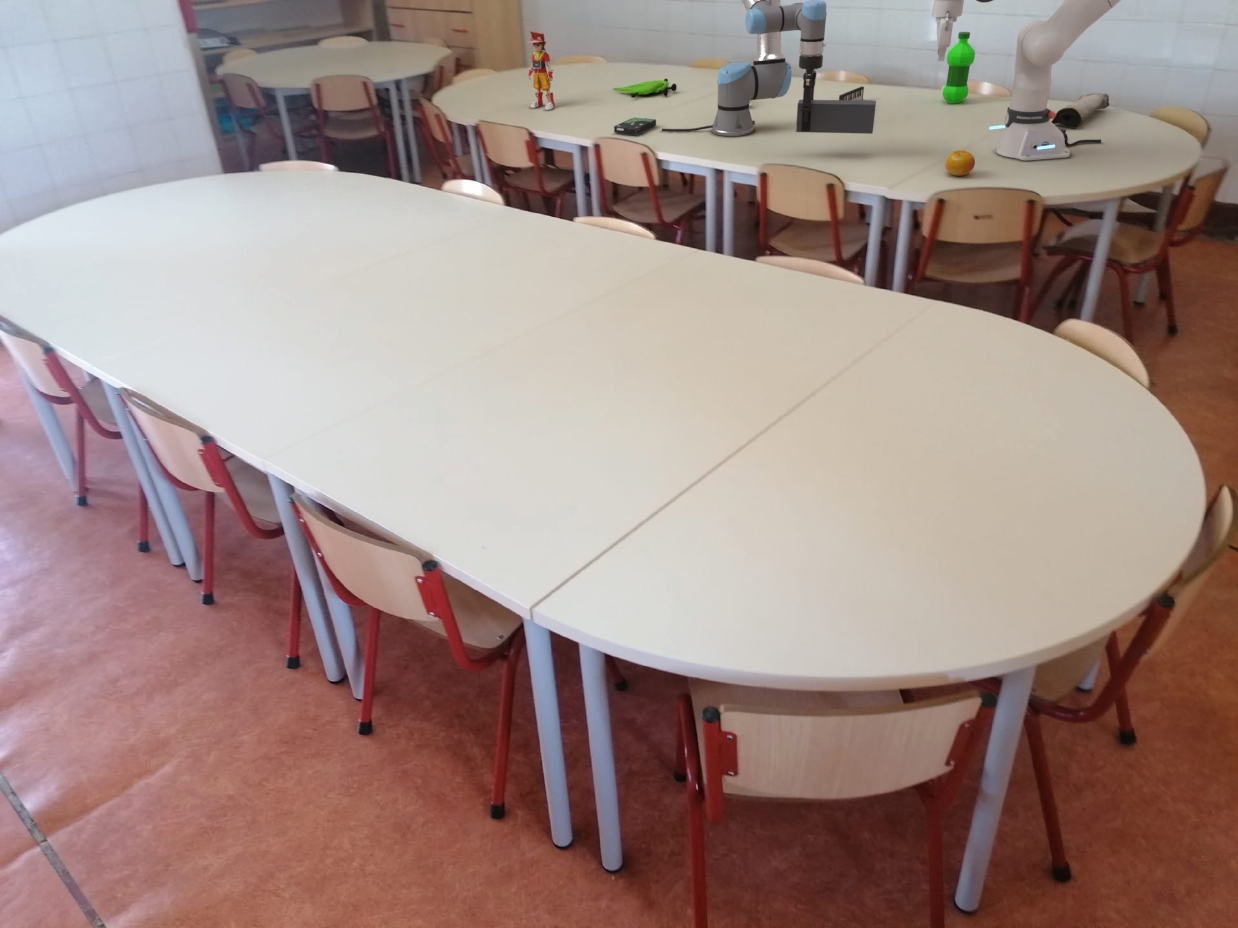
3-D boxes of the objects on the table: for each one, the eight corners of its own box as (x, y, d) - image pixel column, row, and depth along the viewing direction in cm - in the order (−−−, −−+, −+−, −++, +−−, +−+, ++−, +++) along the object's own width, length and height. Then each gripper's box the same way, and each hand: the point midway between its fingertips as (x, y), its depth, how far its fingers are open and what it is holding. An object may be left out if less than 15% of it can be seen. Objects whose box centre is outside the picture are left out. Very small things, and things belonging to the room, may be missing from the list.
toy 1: (525, 109, 381) (517, 32, 364) (534, 104, 388) (527, 28, 371) (550, 110, 377) (543, 32, 360) (559, 105, 384) (553, 28, 367)
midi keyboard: (840, 109, 355) (842, 95, 352) (838, 108, 355) (839, 95, 353) (863, 99, 365) (864, 86, 362) (860, 99, 366) (861, 86, 363)
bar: (795, 132, 302) (797, 103, 297) (797, 128, 306) (799, 99, 301) (872, 133, 296) (875, 104, 291) (873, 129, 300) (876, 100, 295)
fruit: (939, 166, 278) (957, 142, 275) (940, 168, 286) (957, 145, 283) (962, 181, 277) (980, 158, 274) (962, 183, 285) (979, 160, 282)
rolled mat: (1076, 98, 337) (1101, 81, 329) (1090, 118, 338) (1115, 102, 330) (1045, 119, 320) (1071, 102, 312) (1060, 141, 321) (1085, 124, 312)
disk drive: (637, 136, 338) (656, 126, 348) (636, 129, 336) (656, 118, 346) (613, 134, 342) (633, 123, 352) (613, 126, 341) (633, 116, 351)
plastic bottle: (973, 101, 354) (984, 32, 339) (955, 106, 349) (966, 36, 335) (952, 97, 361) (962, 29, 346) (934, 102, 356) (944, 33, 342)
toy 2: (686, 85, 398) (631, 84, 414) (685, 72, 395) (629, 72, 411) (651, 104, 381) (596, 103, 397) (650, 92, 378) (594, 91, 394)
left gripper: (820, 60, 282) (815, 136, 295) (825, 49, 296) (820, 121, 309) (796, 60, 284) (792, 136, 297) (802, 49, 298) (798, 121, 311)
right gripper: (959, 15, 267) (952, 64, 275) (957, 4, 283) (950, 51, 291) (937, 15, 268) (930, 64, 276) (936, 4, 284) (930, 51, 292)
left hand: (806, 128), depth 303 cm, fingers closed on bar, 5 cm apart
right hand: (940, 57), depth 283 cm, fingers open, 8 cm apart
